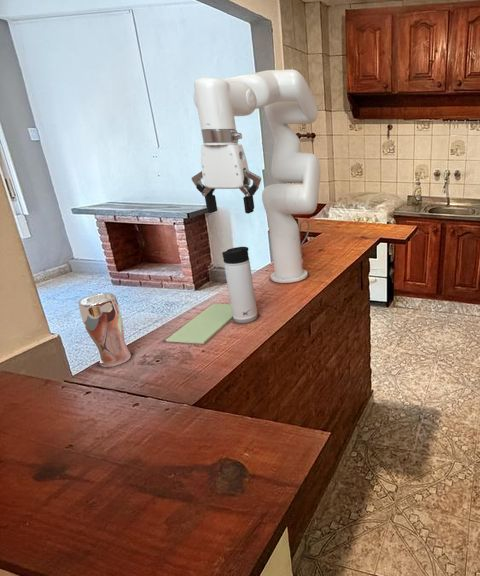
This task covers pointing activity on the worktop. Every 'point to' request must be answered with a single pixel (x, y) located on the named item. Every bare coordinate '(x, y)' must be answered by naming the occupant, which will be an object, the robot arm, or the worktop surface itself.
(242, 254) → the travel mug
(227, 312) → the sage mat
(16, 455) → the worktop surface
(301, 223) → the glass holder
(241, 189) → the robot arm
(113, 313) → the beer glass
